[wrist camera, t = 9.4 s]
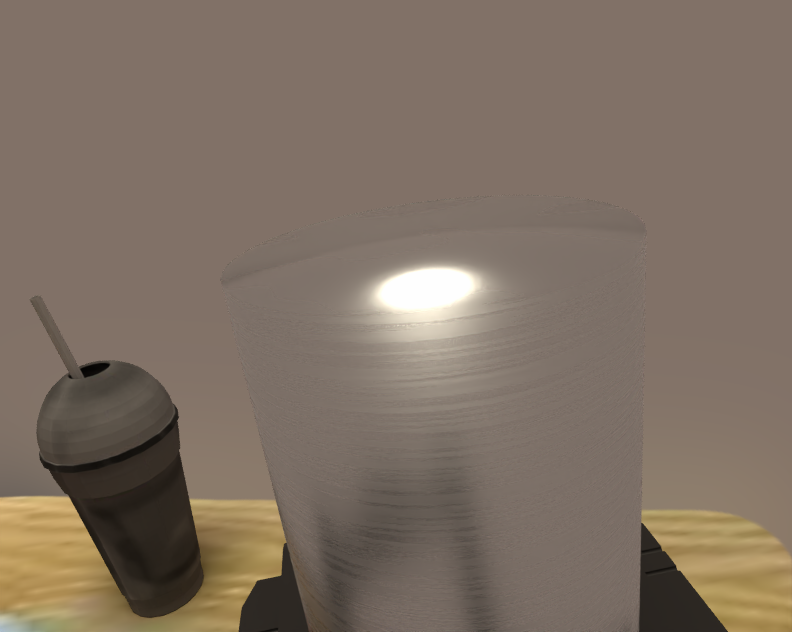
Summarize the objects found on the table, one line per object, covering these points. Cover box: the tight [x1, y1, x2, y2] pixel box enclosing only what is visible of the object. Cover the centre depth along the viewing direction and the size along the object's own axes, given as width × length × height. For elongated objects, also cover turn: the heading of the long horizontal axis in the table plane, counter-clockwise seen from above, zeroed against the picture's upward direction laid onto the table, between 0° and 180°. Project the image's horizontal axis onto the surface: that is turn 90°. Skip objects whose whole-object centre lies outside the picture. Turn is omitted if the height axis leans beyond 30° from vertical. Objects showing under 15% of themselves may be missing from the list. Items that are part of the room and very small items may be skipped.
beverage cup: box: [30, 295, 203, 617], centre depth 34 cm, size 7×7×20 cm
